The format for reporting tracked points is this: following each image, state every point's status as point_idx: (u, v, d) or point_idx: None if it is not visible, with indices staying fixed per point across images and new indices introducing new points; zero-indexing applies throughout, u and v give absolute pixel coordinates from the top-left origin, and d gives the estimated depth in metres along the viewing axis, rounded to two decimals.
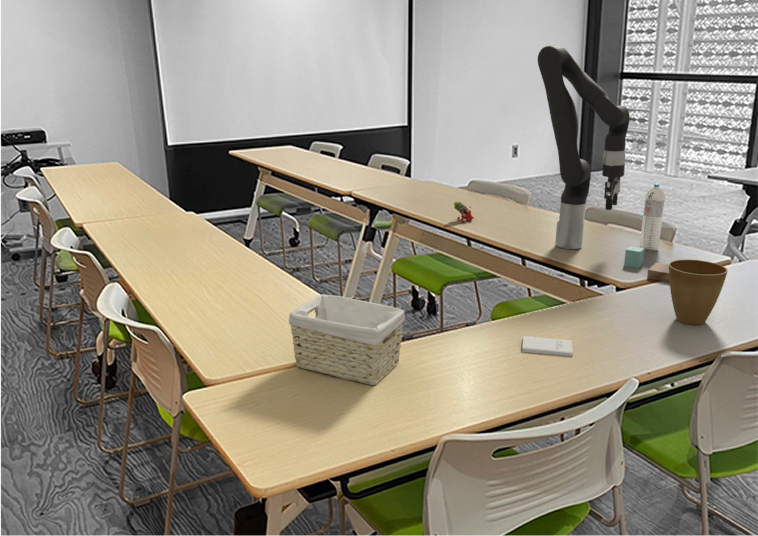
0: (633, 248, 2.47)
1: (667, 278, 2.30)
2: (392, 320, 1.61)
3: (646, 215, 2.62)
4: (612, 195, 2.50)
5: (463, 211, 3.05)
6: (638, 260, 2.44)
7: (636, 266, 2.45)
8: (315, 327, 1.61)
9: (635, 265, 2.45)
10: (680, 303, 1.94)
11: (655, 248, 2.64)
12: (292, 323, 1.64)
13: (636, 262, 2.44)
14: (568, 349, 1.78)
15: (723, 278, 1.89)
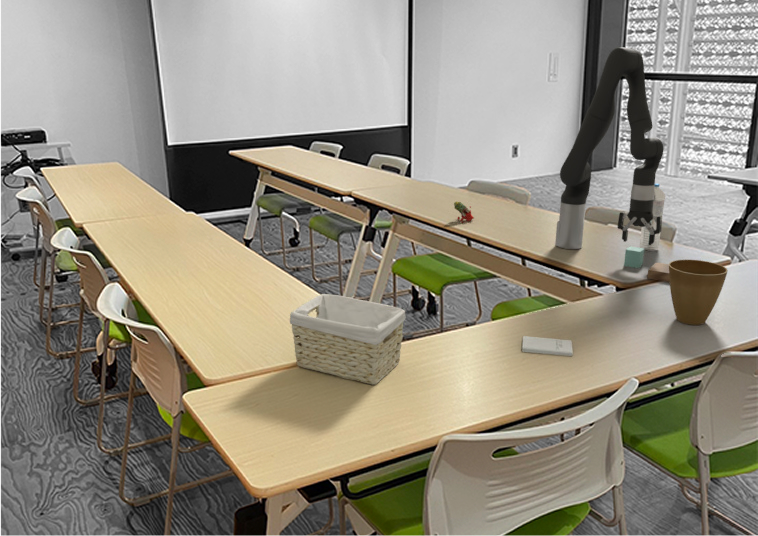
0: (633, 248, 2.47)
1: (667, 278, 2.30)
2: (393, 320, 1.61)
3: None
4: (654, 229, 2.42)
5: (463, 211, 3.05)
6: (638, 260, 2.44)
7: (636, 266, 2.45)
8: (315, 327, 1.62)
9: (635, 265, 2.45)
10: (680, 303, 1.94)
11: (655, 248, 2.64)
12: (293, 322, 1.65)
13: (636, 262, 2.44)
14: (568, 349, 1.78)
15: (723, 278, 1.89)
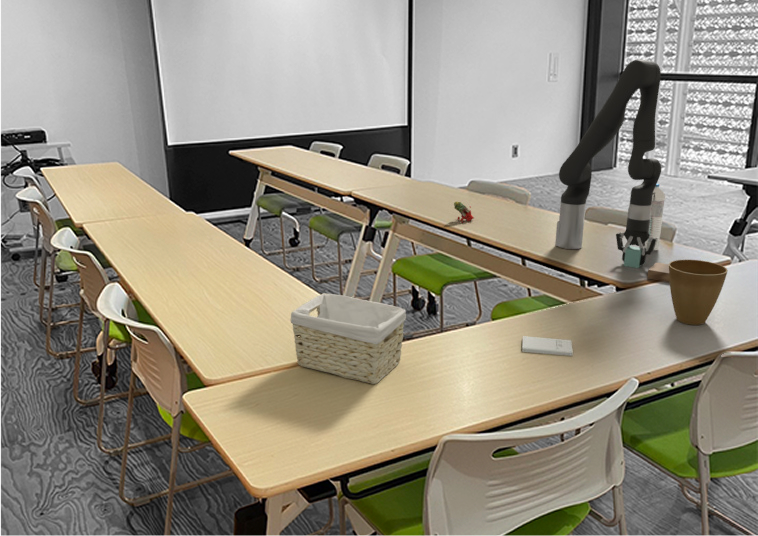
0: (633, 248, 2.47)
1: (667, 278, 2.30)
2: (393, 319, 1.61)
3: None
4: (646, 250, 2.45)
5: (463, 211, 3.05)
6: (638, 260, 2.44)
7: (636, 266, 2.45)
8: (316, 326, 1.62)
9: (635, 265, 2.45)
10: (680, 303, 1.94)
11: (655, 248, 2.64)
12: (294, 322, 1.65)
13: (636, 262, 2.44)
14: (568, 349, 1.78)
15: (723, 278, 1.89)
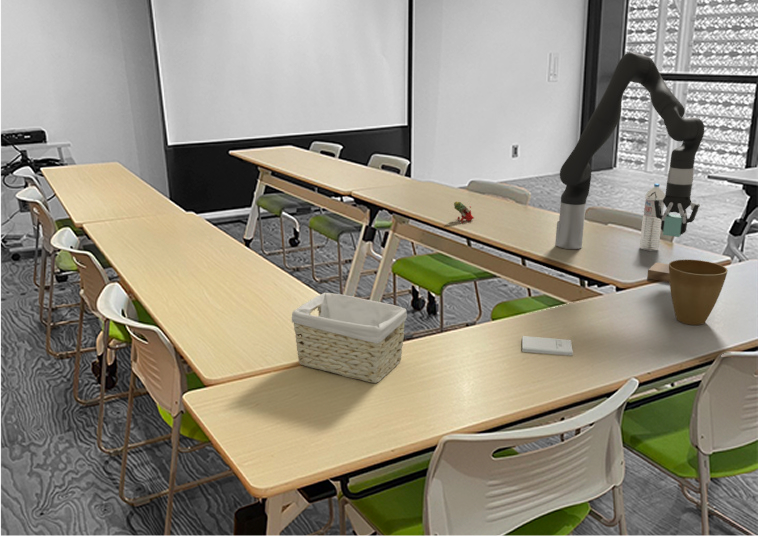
0: (673, 216, 2.30)
1: (667, 278, 2.30)
2: (394, 318, 1.62)
3: (646, 215, 2.62)
4: None
5: (463, 211, 3.05)
6: (679, 228, 2.27)
7: (676, 235, 2.28)
8: (317, 325, 1.63)
9: (675, 234, 2.28)
10: (680, 303, 1.94)
11: (655, 248, 2.64)
12: (295, 321, 1.65)
13: (676, 230, 2.27)
14: (568, 349, 1.78)
15: (723, 278, 1.89)
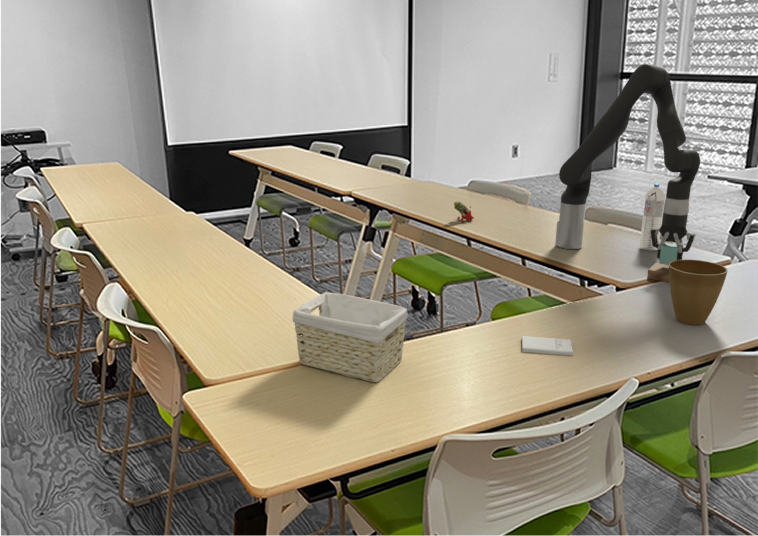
0: (669, 245, 2.33)
1: (667, 278, 2.30)
2: (395, 318, 1.62)
3: (646, 215, 2.62)
4: None
5: (463, 211, 3.05)
6: (675, 257, 2.30)
7: None
8: (318, 325, 1.63)
9: None
10: (680, 303, 1.94)
11: (655, 248, 2.64)
12: (296, 320, 1.66)
13: (672, 259, 2.30)
14: (568, 349, 1.78)
15: (723, 278, 1.89)
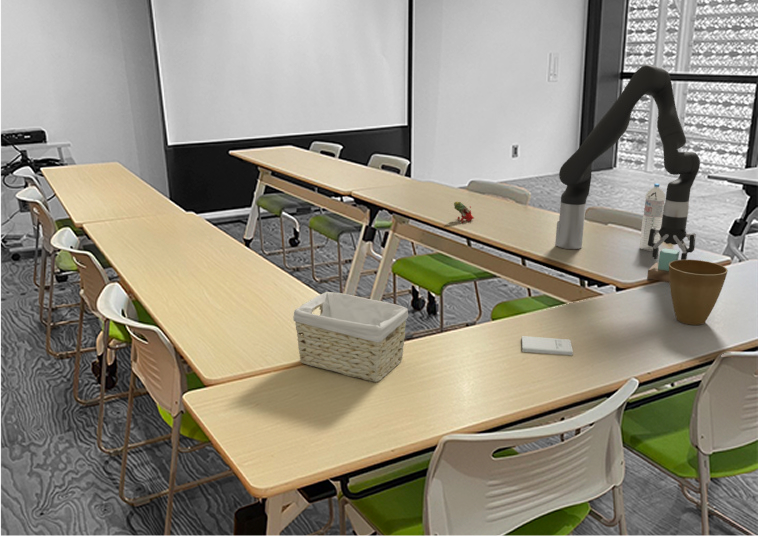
0: (668, 250, 2.33)
1: (667, 278, 2.30)
2: (395, 318, 1.62)
3: (646, 215, 2.62)
4: (686, 247, 2.30)
5: (463, 211, 3.05)
6: None
7: None
8: (319, 324, 1.63)
9: None
10: (680, 303, 1.94)
11: None
12: (296, 320, 1.66)
13: None
14: (568, 348, 1.78)
15: (723, 278, 1.89)
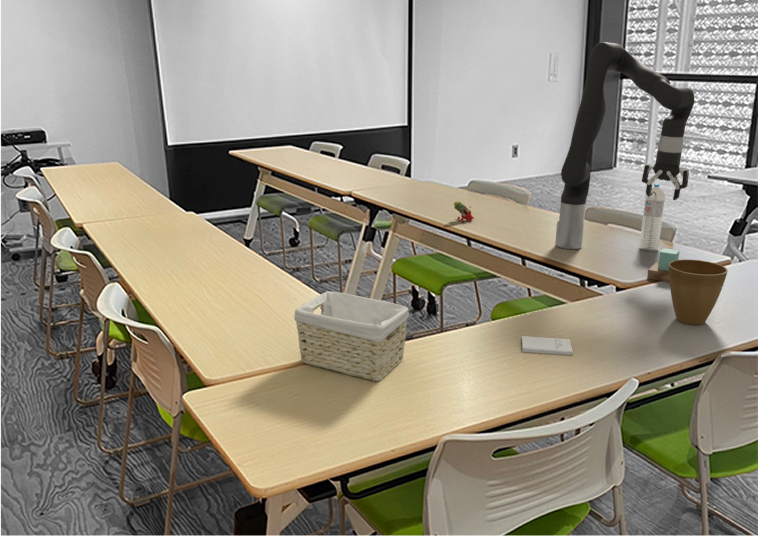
0: (668, 250, 2.33)
1: (667, 278, 2.30)
2: (396, 317, 1.63)
3: (646, 215, 2.62)
4: None
5: (463, 211, 3.05)
6: None
7: None
8: (319, 324, 1.64)
9: None
10: (680, 303, 1.94)
11: (655, 248, 2.64)
12: (297, 319, 1.66)
13: None
14: (568, 348, 1.78)
15: (723, 278, 1.89)
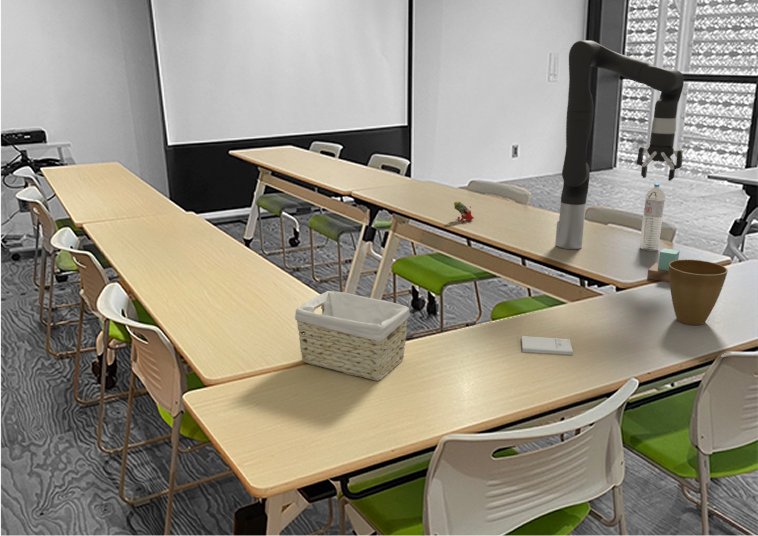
0: (668, 250, 2.33)
1: (667, 278, 2.30)
2: (396, 317, 1.63)
3: (646, 215, 2.62)
4: (674, 164, 2.38)
5: (463, 211, 3.05)
6: None
7: None
8: (320, 323, 1.64)
9: None
10: (680, 303, 1.94)
11: (655, 248, 2.64)
12: (298, 319, 1.67)
13: None
14: (568, 348, 1.78)
15: (723, 278, 1.89)
